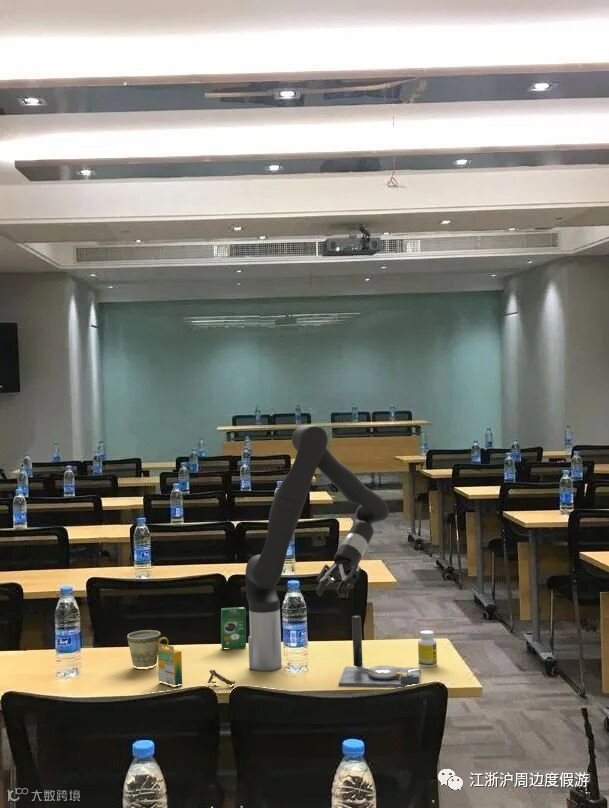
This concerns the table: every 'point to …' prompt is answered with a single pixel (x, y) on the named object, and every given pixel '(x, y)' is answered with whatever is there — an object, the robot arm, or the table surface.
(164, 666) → the crayon box
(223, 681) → the wooden post with brackets
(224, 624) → the coffee box
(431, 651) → the supplement bottle
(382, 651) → the table surface
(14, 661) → the table surface
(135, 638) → the ceramic cup
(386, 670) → the upright bar with disc
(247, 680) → the table surface
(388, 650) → the table surface
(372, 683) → the base plate
